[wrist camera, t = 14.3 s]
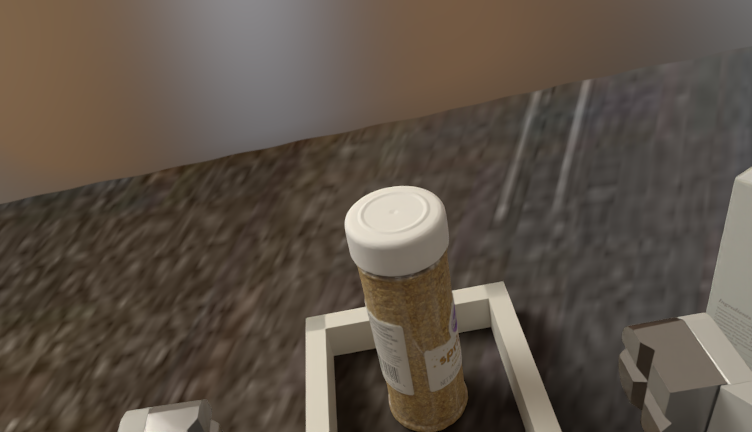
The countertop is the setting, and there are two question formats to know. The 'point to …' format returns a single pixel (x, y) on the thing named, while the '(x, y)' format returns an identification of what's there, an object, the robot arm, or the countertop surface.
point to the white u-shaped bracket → (472, 313)
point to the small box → (735, 271)
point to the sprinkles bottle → (410, 303)
